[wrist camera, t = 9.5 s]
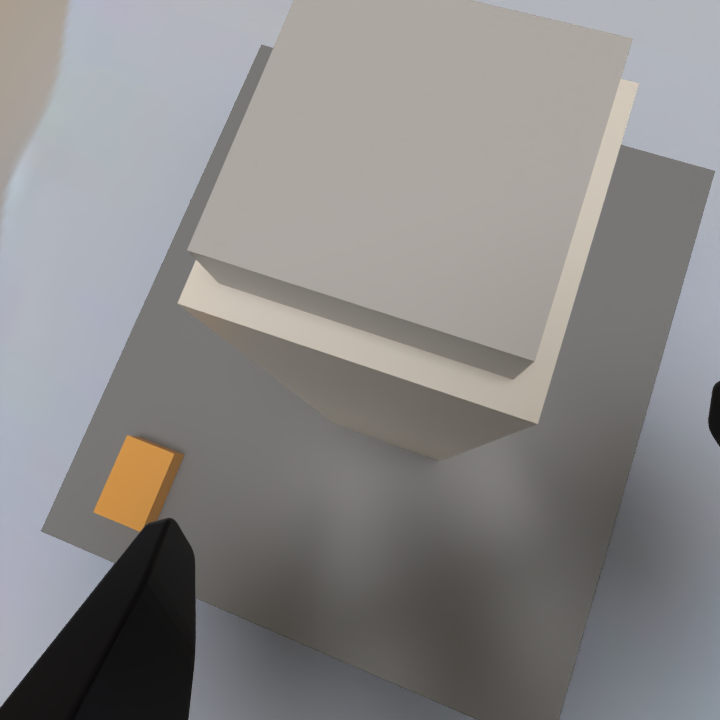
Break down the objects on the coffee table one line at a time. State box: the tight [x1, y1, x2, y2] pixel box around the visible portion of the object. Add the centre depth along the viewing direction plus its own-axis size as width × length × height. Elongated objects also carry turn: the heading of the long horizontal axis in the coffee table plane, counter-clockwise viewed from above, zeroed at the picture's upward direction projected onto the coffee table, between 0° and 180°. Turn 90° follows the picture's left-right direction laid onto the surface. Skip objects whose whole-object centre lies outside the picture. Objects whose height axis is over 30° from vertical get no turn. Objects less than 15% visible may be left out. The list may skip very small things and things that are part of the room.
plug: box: [177, 0, 639, 461], centre depth 11 cm, size 3×3×13 cm
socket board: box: [41, 45, 715, 720], centre depth 19 cm, size 18×16×4 cm
